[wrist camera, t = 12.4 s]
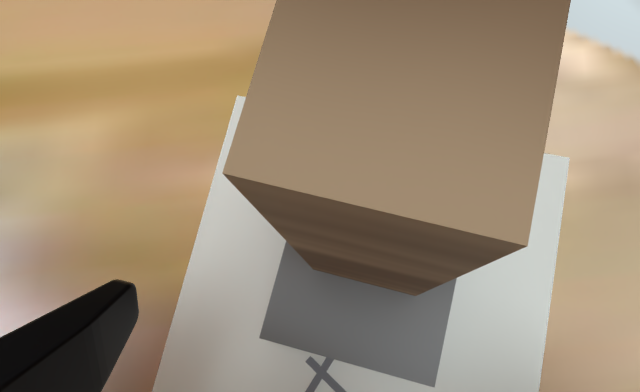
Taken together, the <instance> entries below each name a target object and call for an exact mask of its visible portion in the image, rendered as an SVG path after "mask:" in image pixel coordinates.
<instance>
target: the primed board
mask: <svg viewBox="0 0 640 392" xmlns="http://www.w3.org/2000/svg"><path fill="white" fill-rule="evenodd" d="M245 99H246V97H242V96H237V98H236V102H235V105H234V109H233V112H232V115H231V119H230V122H229V126H228V129H227V133H226V136H225V140H224V143H223V147H222V150H221V154H220V157H219V161H218V164H217V167H216V171H215V174H214V178H213V181H212V185H211V188H210V192H209V195H208V199H207V202H206V206H205V209H204V213H203V216H202V220H201V223H200V226H199V230H198V233H197V237H196V240H195V244H194V247H193V251H192V254H191V258H190V261H189V265H188V268H187V272H186V275H185V278H184V282H183V285H182V289H181V292H180V296H179V299H178V303H177V306H176V310H175V313H174V317H173V320H172V324H171V327H170V330H169V334H168V337H167V341H166V344H165V348H164V351H163V355H162V358H161V362H160V365H159V369H158V372H157V376H156V379H155V383H154V386H153V389H152V392H539V386H540V378H541V371H542V363H543V356H544V348H545V341H546V333H547V325H548V318H549V310H550V303H551V295H552V287H553V280H554V272H555V265H556V257H557V249H558V242H559V234H560V227H561V219H562V212H563V204H564V196H565V189H566V181H567V174H568V166H569V158H567V157H562V156H557V155H551V154H546V153H544V155H543V161H542V167H541V173H540V178H539V184H538V190H537V195H536V201H535V207H534V212H533V218H532V224H531V230H530V235H529V241H528V246H527V247H525V248H522V249H520V250H518V251H516V252H513V253H511V254H509V255H507V256H504V257H502V258H500V259H498V260H496V261H493V262H491V263H489V264H487V265H484V266H482V267H480V268H478V269H475V270H473V271H471V272H469V273H466V274H464V275H462V276H460V277H457V279H456V284H455V289H454V294H453V299H452V304H451V309H450V314H449V319H448V324H447V329H446V333H445V338H444V343H443V348H442V353H441V358H440V363H439V368H438V373H437V378H436V383H435V388H434V387H430V386H427V385H423V384H420V383H416V382H413V381H409V380H406V379H402V378H399V377H395V376H391V375H388V374H384V373H381V372H377V371H374V370H370V369H367V368H363V367H360V366H356V365H352V364H349V363H345V362H342V361H338V360H335V359H331V358H328V357H324V356H321V355H317V354H313V353H310V352H306V351H303V350H299V349H296V348H292V347H289V346H285V345H282V344H278V343H274V342H271V341H267V340H264V339H260V338H259V337H260V333H261V329H262V326H263V322H264V319H265V315H266V311H267V308H268V304H269V301H270V297H271V294H272V290H273V286H274V283H275V279H276V276H277V272H278V268H279V265H280V261H281V258H282V254H283V250H284V247H285V243H286V240H285V239H284V238H283V237H282V236H281V235H280V234H279V233H278V232H277V231H276V230H275V228H274V227H273V226H272V225H271V224H270V223H269V222H268V221H267V220H266V219H265V218H264V217H263V216H262V215H261V214H260V213H259V212H258V211H257V209H256V208H255V207H254V206H253V205H252V204H251V203H250V202H249V201H248V200H247V199H246V198H245V197H244V196H243V195H242V194H241V193H240V192H239V190H238V189H237V188H236V187H235V186H234V185H233V184H232V183H231V182H230V181H229V180H228V179H227V178H226V177H225V176H224V175H223V174H222V172H223V169H224V166H225V163H226V160H227V156H228V153H229V150H230V147H231V144H232V141H233V137H234V134H235V131H236V128H237V125H238V121H239V118H240V115H241V112H242V109H243V106H244V102H245Z"/></svg>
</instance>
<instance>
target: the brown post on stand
mask: <svg viewBox="0 0 640 392" xmlns="http://www.w3.org/2000/svg"><path fill="white" fill-rule="evenodd" d="M570 2H571V0H277V1H276V4H275V7H274V10H273V14H272V17H271V20H270V23H269V26H268V29H267V33H266V36H265V39H264V42H263V45H262V49H261V52H260V55H259V58H258V61H257V64H256V68H255V71H254V74H253V77H252V80H251V83H250V87H249V90H248V93H247V96H246V99H245V102H244V106H243V109H242V112H241V115H240V118H239V121H238V125H237V128H236V131H235V134H234V137H233V141H232V144H231V147H230V150H229V153H228V156H227V160H226V163H225V166H224V169H223V172H222V174H223V175H224V176H225V177H226V178H227V179H228V180H229V181H230V182H231V183H232V184H233V185H234V186H235V187H236V188H237V189H238V190H239V192H240V193H241V194H242V195H243V196H244V197H245V198H246V199H247V200H248V201H249V202H250V203H251V204H252V205H253V206H254V207H255V208H256V209H257V211H258V212H259V213H260V214H261V215H262V216H263V217H264V218H265V219H266V220H267V221H268V222H269V223H270V224H271V225H272V226H273V227H274V228H275V230H276V231H277V232H278V233H279V234H280V235H281V236H282V237H283V238H284V239H285V240H286V243H285V247H284V250H283V254H282V258H281V261H280V265H279V268H278V272H277V276H276V279H275V283H274V286H273V290H272V294H271V297H270V301H269V304H268V308H267V311H266V315H265V319H264V322H263V326H262V329H261V333H260V337H259V338H260V339H264V340H267V341H271V342H274V343H278V344H282V345H285V346H289V347H292V348H296V349H299V350H303V351H306V352H310V353H313V354H317V355H321V356H324V357H328V358H331V359H335V360H338V361H342V362H345V363H349V364H352V365H356V366H360V367H363V368H367V369H370V370H374V371H377V372H381V373H384V374H388V375H391V376H395V377H399V378H402V379H406V380H409V381H413V382H416V383H420V384H423V385H427V386H430V387H434V388H435V383H436V378H437V373H438V368H439V363H440V358H441V353H442V348H443V343H444V338H445V333H446V329H447V324H448V319H449V314H450V309H451V304H452V299H453V294H454V289H455V284H456V279H457V277H460V276H462V275H464V274H466V273H469V272H471V271H473V270H475V269H478V268H480V267H482V266H484V265H487V264H489V263H491V262H493V261H496V260H498V259H500V258H502V257H504V256H507V255H509V254H511V253H513V252H516V251H518V250H520V249H522V248H525V247H527V246H528V241H529V235H530V230H531V224H532V218H533V212H534V207H535V201H536V195H537V190H538V184H539V178H540V173H541V167H542V161H543V155H544V150H545V144H546V138H547V133H548V127H549V121H550V116H551V110H552V104H553V98H554V93H555V87H556V81H557V76H558V70H559V64H560V59H561V53H562V47H563V42H564V36H565V30H566V24H567V18H568V12H569V7H570Z"/></svg>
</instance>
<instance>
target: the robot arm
mask: <svg viewBox="0 0 640 392" xmlns="http://www.w3.org/2000/svg"><path fill="white" fill-rule="evenodd" d="M138 314H139V309H138V301H137V292H136V287H135V285H134V284H133V283H131V282H127V281H122V280H112V281H110V282H108V283H106V284H104V285H102V286H100V287H98V288H96V289H95V290H93V291H91V292H89V293H87V294H85V295H83V296H81V297H79V298H77V299H75V300H73V301H71V302H69V303H67V304H65V305H63V306H61V307H59V308H57V309H55V310H53V311H51V312H49V313H47V314H45V315H44V316H42V317H40V318H38V319H36V320H34V321H32V322H30V323H28V324H26V325H24V326H22V327H20V328H18V329H16V330H14V331H12V332H10V333H8V334H6V335H4V336H2V337H0V392H101V390H102V389H103V387H104V385H105V383H106V381H107V379H108V378H109V376H110V374H111V372H112V370H113V368H114V366H115V364H116V362H117V360H118V358H119V356H120V354H121V352H122V350H123V348H124V346H125V344H126V342H127V340H128V338H129V336H130V334H131V332H132V330H133V328H134V326H135V324H136V322H137V319H138Z"/></svg>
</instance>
